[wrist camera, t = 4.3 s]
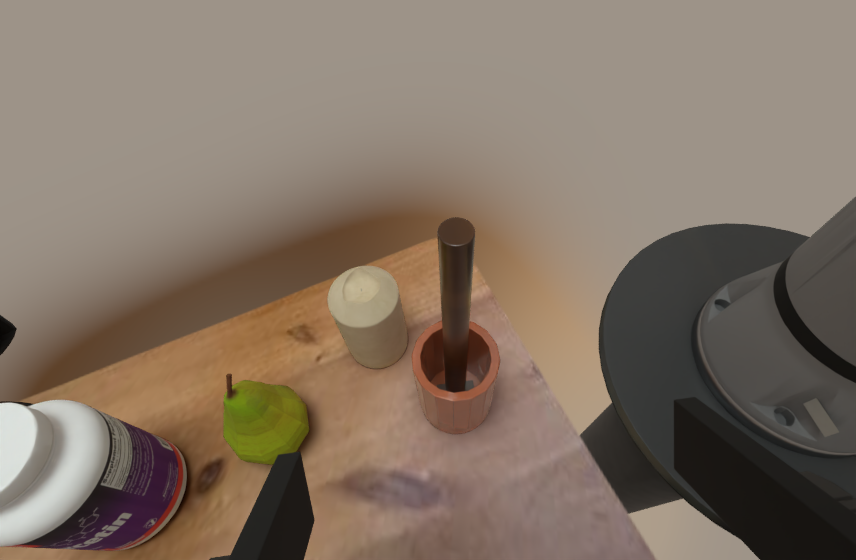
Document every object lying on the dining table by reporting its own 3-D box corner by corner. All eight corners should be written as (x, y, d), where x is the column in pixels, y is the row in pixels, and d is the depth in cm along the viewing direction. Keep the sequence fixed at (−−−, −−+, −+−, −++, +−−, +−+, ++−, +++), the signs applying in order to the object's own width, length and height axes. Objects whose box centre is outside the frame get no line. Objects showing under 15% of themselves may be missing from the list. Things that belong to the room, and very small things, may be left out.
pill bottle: (78, 563, 33) (-142, 564, 21) (98, 452, 37) (-75, 399, 25) (189, 536, 33) (38, 521, 21) (196, 429, 38) (74, 367, 26)
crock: (483, 361, 40) (490, 313, 32) (496, 429, 36) (507, 394, 29) (417, 369, 40) (408, 324, 32) (424, 438, 36) (416, 406, 29)
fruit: (227, 452, 37) (140, 410, 26) (268, 384, 40) (205, 323, 29) (292, 484, 35) (226, 452, 25) (330, 411, 38) (286, 356, 28)
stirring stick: (471, 384, 38) (487, 212, 19) (474, 402, 37) (494, 241, 18) (436, 388, 38) (419, 221, 19) (438, 407, 37) (423, 250, 18)
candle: (348, 319, 43) (323, 259, 34) (405, 312, 43) (393, 250, 34) (350, 373, 40) (321, 322, 31) (410, 365, 40) (399, 312, 31)
